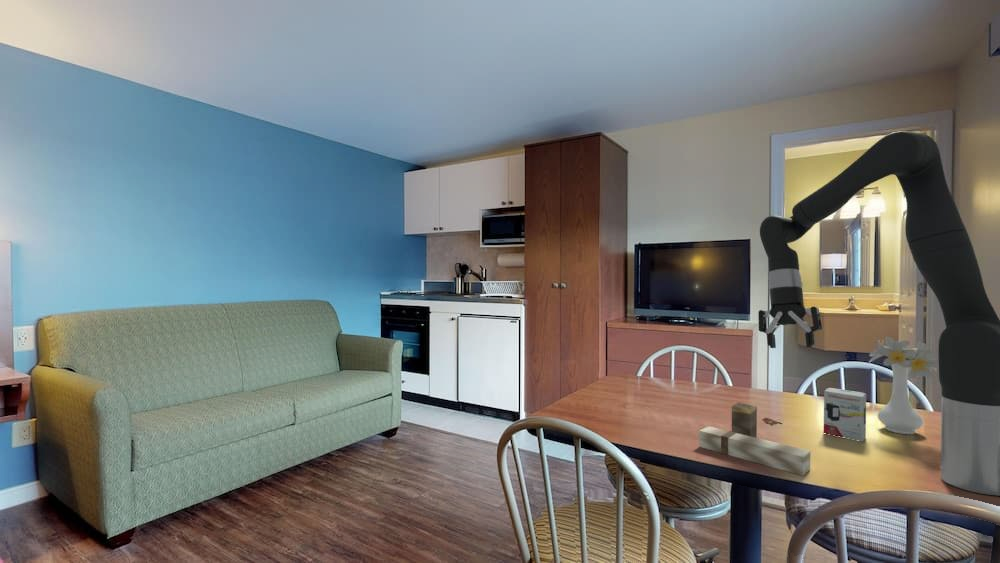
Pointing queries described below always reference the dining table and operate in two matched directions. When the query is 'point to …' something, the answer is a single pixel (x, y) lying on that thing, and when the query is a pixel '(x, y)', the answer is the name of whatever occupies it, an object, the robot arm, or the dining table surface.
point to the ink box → (845, 413)
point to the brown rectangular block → (744, 419)
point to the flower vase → (903, 382)
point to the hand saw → (770, 422)
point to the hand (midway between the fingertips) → (790, 347)
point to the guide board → (756, 450)
